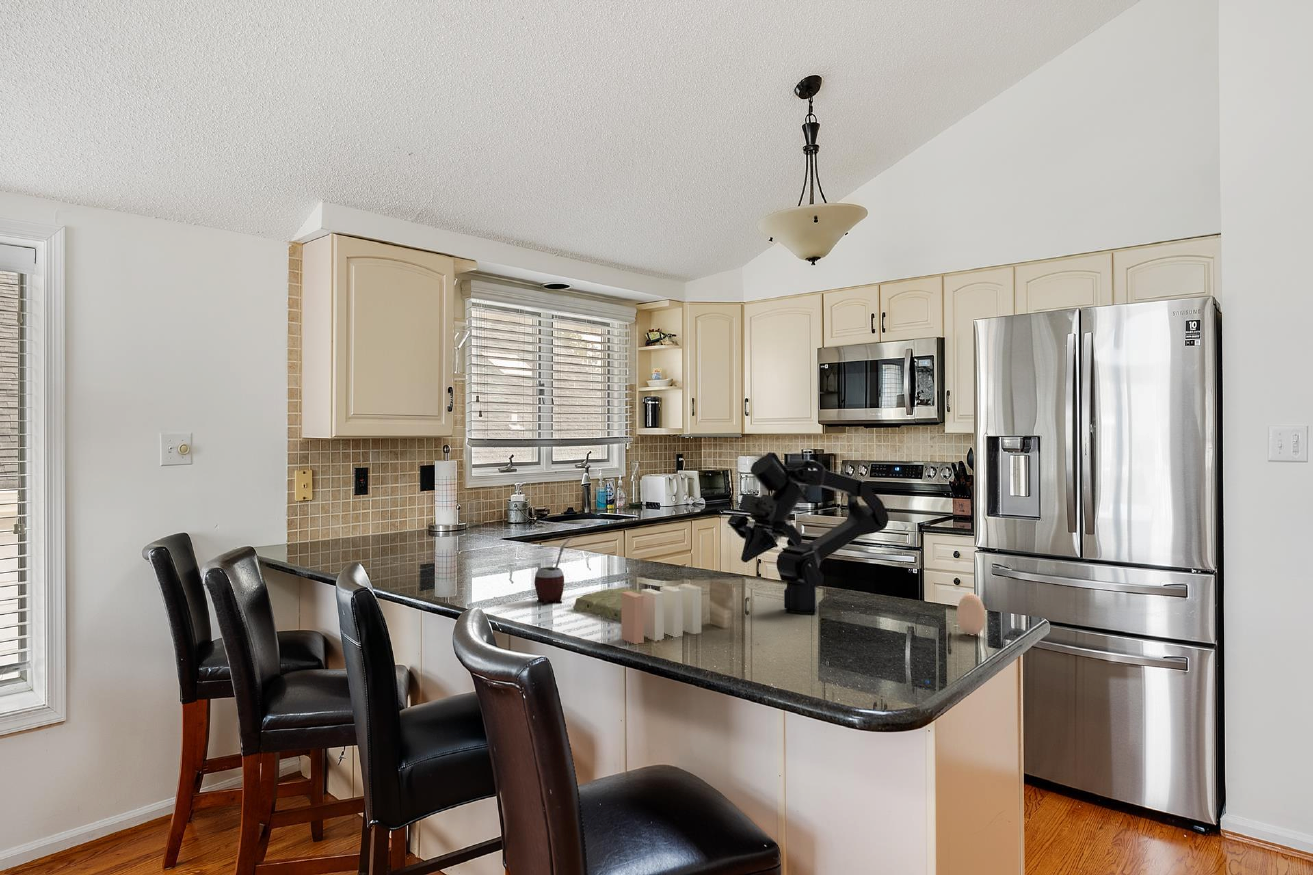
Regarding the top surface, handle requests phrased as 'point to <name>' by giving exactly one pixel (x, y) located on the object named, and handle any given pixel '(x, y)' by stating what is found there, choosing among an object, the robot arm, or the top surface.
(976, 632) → the egg
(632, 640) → the domino
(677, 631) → the domino
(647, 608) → the domino
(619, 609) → the olive green slab
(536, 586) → the mate gourd
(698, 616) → the domino
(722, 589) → the domino
